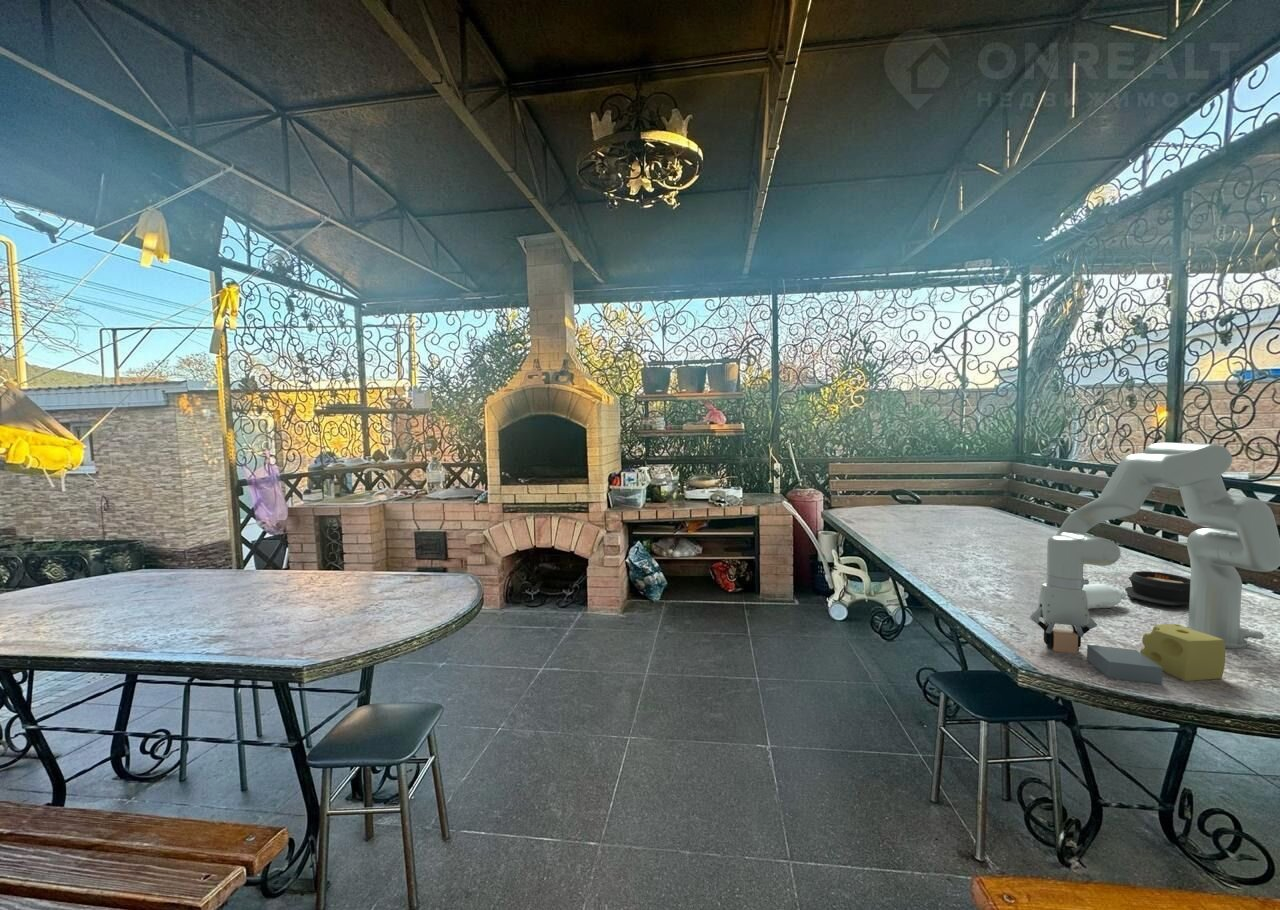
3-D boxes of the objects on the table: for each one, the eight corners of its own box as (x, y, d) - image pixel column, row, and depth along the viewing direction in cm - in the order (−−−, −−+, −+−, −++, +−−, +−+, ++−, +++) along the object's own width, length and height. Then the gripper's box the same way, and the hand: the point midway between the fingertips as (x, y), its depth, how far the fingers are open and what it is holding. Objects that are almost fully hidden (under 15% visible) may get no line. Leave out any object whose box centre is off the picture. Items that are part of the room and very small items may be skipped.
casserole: (1140, 587, 188) (1141, 565, 187) (1213, 602, 171) (1214, 578, 171) (1111, 598, 176) (1112, 575, 176) (1186, 615, 160) (1187, 589, 159)
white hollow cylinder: (1133, 610, 165) (1134, 586, 164) (1084, 613, 162) (1086, 589, 161) (1107, 602, 173) (1108, 579, 172) (1060, 605, 170) (1061, 582, 169)
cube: (1068, 646, 138) (1069, 628, 138) (1077, 653, 133) (1078, 635, 133) (1046, 643, 139) (1047, 626, 139) (1054, 651, 135) (1055, 633, 134)
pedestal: (1135, 665, 126) (1136, 649, 126) (1161, 684, 117) (1162, 667, 117) (1086, 659, 130) (1087, 644, 129) (1108, 677, 120) (1109, 661, 120)
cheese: (1138, 662, 128) (1140, 624, 128) (1176, 660, 129) (1178, 622, 129) (1186, 682, 118) (1188, 641, 117) (1227, 680, 119) (1229, 639, 118)
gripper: (1095, 581, 136) (1092, 646, 137) (1021, 575, 142) (1019, 638, 142) (1111, 589, 129) (1108, 657, 130) (1032, 583, 135) (1030, 649, 135)
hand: (1061, 646), depth 136 cm, fingers closed on cube, 5 cm apart
